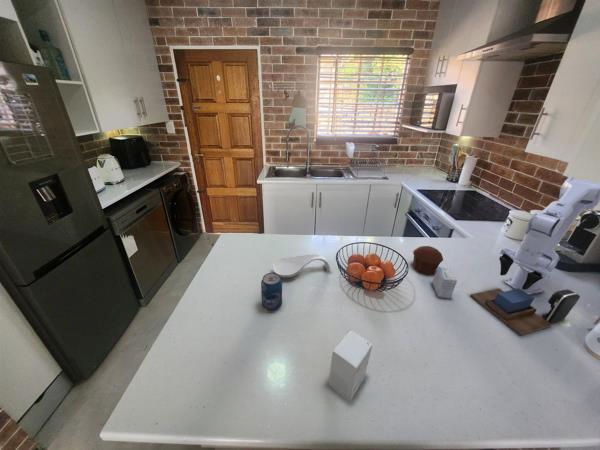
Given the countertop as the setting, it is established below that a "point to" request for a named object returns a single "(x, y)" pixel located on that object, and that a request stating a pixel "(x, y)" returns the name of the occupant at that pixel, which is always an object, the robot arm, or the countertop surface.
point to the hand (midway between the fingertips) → (513, 281)
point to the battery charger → (560, 305)
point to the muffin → (426, 259)
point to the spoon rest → (296, 264)
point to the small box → (349, 364)
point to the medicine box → (444, 282)
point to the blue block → (513, 301)
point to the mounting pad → (515, 321)
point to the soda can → (271, 292)
